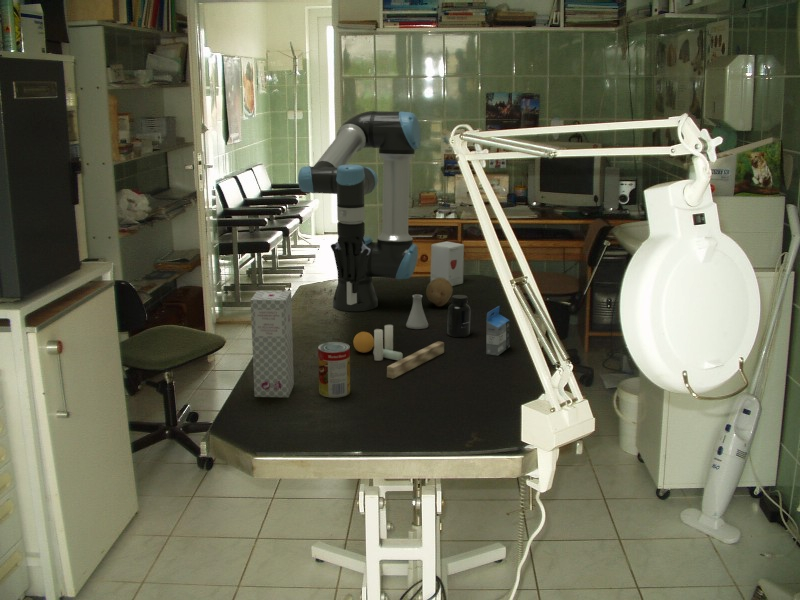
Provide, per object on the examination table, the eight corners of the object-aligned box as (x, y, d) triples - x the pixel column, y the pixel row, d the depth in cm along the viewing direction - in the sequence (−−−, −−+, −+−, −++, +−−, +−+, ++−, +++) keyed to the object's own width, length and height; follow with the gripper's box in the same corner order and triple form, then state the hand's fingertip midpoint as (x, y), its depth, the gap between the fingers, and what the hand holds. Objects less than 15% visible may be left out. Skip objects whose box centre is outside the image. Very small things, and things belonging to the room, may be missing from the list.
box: (254, 396, 219) (250, 299, 212) (261, 384, 227) (257, 290, 220) (288, 397, 219) (285, 300, 212) (293, 385, 227) (291, 291, 220)
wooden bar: (438, 351, 253) (438, 341, 252) (444, 352, 252) (444, 342, 251) (386, 377, 232) (386, 366, 232) (393, 378, 231) (393, 368, 231)
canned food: (342, 384, 227) (341, 340, 224) (355, 394, 221) (355, 348, 218) (314, 389, 224) (313, 344, 221) (326, 399, 217) (325, 353, 214)
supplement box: (448, 287, 323) (449, 247, 319) (429, 283, 329) (430, 244, 325) (463, 283, 329) (464, 244, 325) (445, 279, 335) (446, 240, 331)
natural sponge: (444, 311, 292) (444, 282, 290) (420, 308, 297) (421, 279, 294) (456, 305, 300) (457, 277, 297) (433, 301, 304) (433, 273, 301)
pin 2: (387, 352, 252) (387, 324, 249) (394, 354, 251) (394, 325, 248) (382, 354, 250) (382, 326, 248) (389, 356, 249) (389, 327, 246)
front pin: (378, 346, 250) (403, 351, 246) (377, 354, 251) (402, 360, 246) (373, 347, 248) (398, 353, 244) (372, 356, 249) (397, 361, 244)
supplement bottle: (468, 338, 265) (469, 300, 261) (445, 337, 266) (446, 298, 263) (471, 331, 271) (472, 294, 268) (449, 330, 272) (449, 293, 269)
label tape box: (498, 356, 249) (499, 314, 246) (484, 354, 251) (486, 312, 248) (509, 347, 257) (511, 307, 253) (497, 345, 259) (498, 305, 255)
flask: (406, 330, 273) (406, 298, 270) (405, 323, 280) (405, 292, 277) (429, 329, 273) (429, 298, 271) (427, 323, 280) (428, 292, 278)
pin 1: (377, 357, 248) (377, 328, 245) (384, 358, 246) (384, 330, 244) (372, 359, 246) (372, 330, 244) (379, 361, 245) (379, 332, 242)
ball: (364, 328, 255) (379, 333, 251) (363, 347, 256) (377, 353, 252) (349, 330, 250) (364, 336, 246) (348, 351, 252) (362, 356, 248)
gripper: (324, 221, 245) (325, 302, 251) (362, 226, 238) (362, 310, 244) (340, 217, 251) (341, 297, 257) (378, 221, 244) (378, 304, 250)
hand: (351, 303), depth 250 cm, fingers closed
